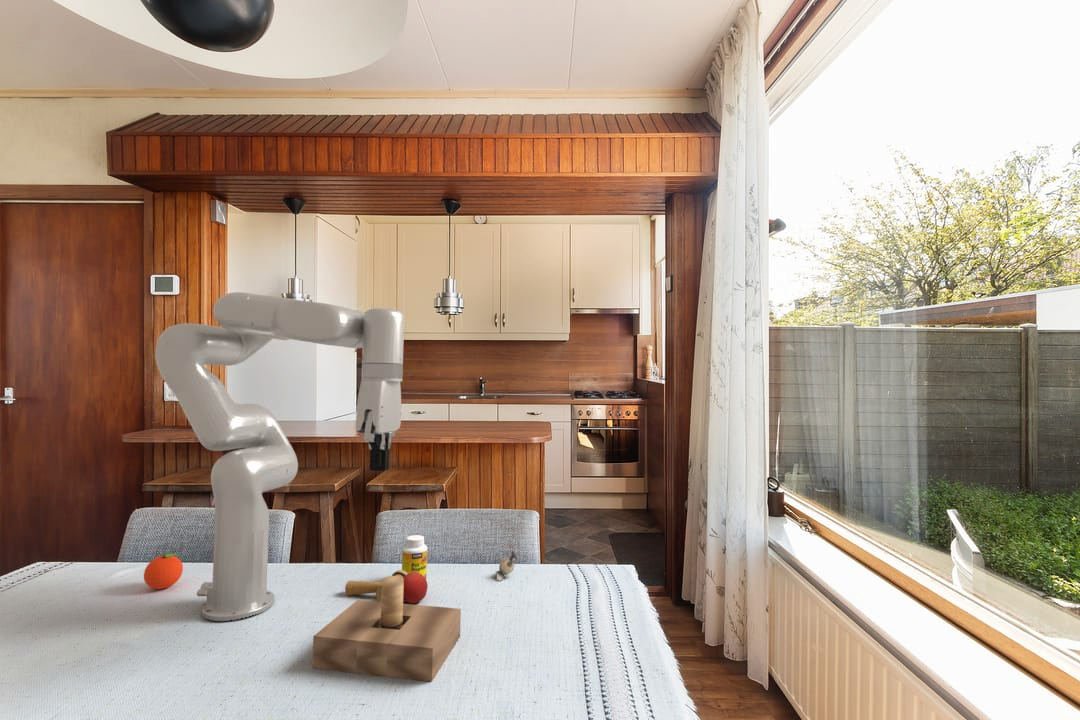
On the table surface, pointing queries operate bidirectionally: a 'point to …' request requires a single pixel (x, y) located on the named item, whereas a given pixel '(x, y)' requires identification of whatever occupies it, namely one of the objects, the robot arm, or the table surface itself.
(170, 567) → the clementine
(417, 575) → the kendama
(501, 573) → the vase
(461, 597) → the table surface
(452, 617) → the seat board
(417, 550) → the supplement bottle
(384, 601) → the oak peg
